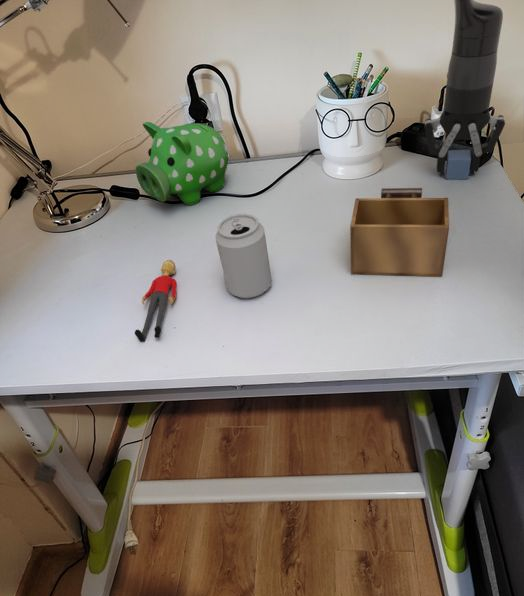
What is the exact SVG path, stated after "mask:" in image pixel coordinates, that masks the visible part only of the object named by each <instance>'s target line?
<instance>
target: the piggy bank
mask: <svg viewBox="0 0 524 596" xmlns="http://www.w3.org/2000/svg"><path fill="white" fill-rule="evenodd" d="M142 126H143V128H144V129H145V131H146V132H147V133H148V135H150V137H151V139H152V143H151V147H150V148H149V149H148V150H147V154H148V156H149V159H148V161H146V162H142V163H139V164H137V165H135V166H136V167H135V175H136V178H137V182H138V184H139V186H140V187H141V189H142V190H143V191H144V192H145V194H147V195H148V196H149V197H152V198H154V199H156V200H157V201H159V202H161V203H165V202H166V201H167V200H168V199H169V198H170V197H172V198H176V197H179V199H180V201H181V202H182V203H184V204H185V205H186V206H193V205H196V204H198V203H199V202H200V199H201V190H202V189H204V190H206V191H207V192H209V193H216V192H219V191H221V190H222V189H223V188H224V185H225V184H226V171H227V169H228V164H229V153H228V152H229V151H228V148H227V144H226V142H225V140H224V138H223V136H222V135H221V133H219V132H218V130H216V129H214V128H213V127H211V126H209V125H206V124H203V123H184V124H181V125H176V126H166V127H159V126H158V125H157V124H155V123H153V122H151V121H145V122H142Z"/></svg>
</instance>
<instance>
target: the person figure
mask: <svg viewBox="0 0 524 596" xmlns="http://www.w3.org/2000/svg"><path fill="white" fill-rule="evenodd" d="M160 272H161V273H162V275H159V276H157V277H156V278H155V279H153V280H152V282H151V285H150V287H149V289H148V291H147V292H145V294H144V295H143V296H142V299H141V303H142V305H145V304H146V303H145V301H147V300H148V298H150V301H149V304H148V307H147V313H146V318H145V321H144V325H143V328H142V330H140V329H136V330H135V331H134V335H135V336H136V338H137V340H138V341H139V342H141V343H144V342H145V340H146V338H147V335H148V332H149V330H150V327H151V324H152V321H153V317H154V313H155V310H156V308H157V306H158V308H157V317H156V321H155V327H154V329H153V330H154V339H159V338H160V336H161V333H162V325H163V321H164V314H165V311H166V307H167V303H168V305H170V306H171V305H173V303H174V302H175V299H176V297H177V283H178V282H177V279H175V278H173V277H172V276H173V275H175V274H176V263H175V262H174V261H173V260H172V259H166V260H165V261H164V262H163V263H162V266H161V269H160ZM170 288H171V296H170V297H169V290H170ZM168 300H169V301H168Z"/></svg>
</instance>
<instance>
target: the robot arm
mask: <svg viewBox="0 0 524 596" xmlns="http://www.w3.org/2000/svg"><path fill="white" fill-rule="evenodd" d="M453 2H454V30H453V38H452V39H453V41H452V48H451V55H450V59H449V63H448V67H447V73H446V85H445V94H444V95H445V96H444V102H443V103H444V104H443V111H442V112H441V114H440V116H439V117H437V118H433V119H432V118H426V119H425V120H424V131H425V138H426V143H427V149H428V154H429V155H435V156H437V159H436V172H437V173H439V176H444V175H445V170H446V162H447V154H448V150H449V149H450V148H451V146H452V144H453V142H454V141H460V140H461V141H462V140H465V141H471V145H472V148H473V151H472V152H471V163H470V169H469V175H470V176H471V175H475V172H476V173H477V172H478V171H479V169H480V163H481V157H482V156H483V155H484V154H491V153H492V152H493V151H494V149H495V147H496V144H497V143H498V140H499V138H500V136H501V134H502V132H503V129H504V128H505V125H506V121H505V117H504V116H503V115H502V114H500V115H498V116H494V115H491V114H490V111H489V109H490V104H491V98H492V93H493V88H494V81H495V76H496V71H497V63H498V49H499V42H500V39H501V38H500V37H501V30H502V26H503V20H504V12H503V10H502V8H501V7H499V6H497V5H494V4H489V3H481V2H478V1H475V0H453ZM488 124H489V128H490V132H489V133H488V136H487V139H486V141H485V142H484V143H481V139H480V132H482V131H483V129H484V128H485V127H486V126H487V125H488ZM439 126H441V128H442V129H443V131H444V132H445V133H444V135H443V137H442V139H441V140H442V141H441V142H440V144H436V139H435V134H434V133H436V132H437V131H438V127H439Z"/></svg>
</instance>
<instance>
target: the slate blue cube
mask: <svg viewBox="0 0 524 596" xmlns="http://www.w3.org/2000/svg"><path fill="white" fill-rule="evenodd" d="M471 157H472V153H471V149H450V150H449V149H448V151H447V153H446V161H445V180H448V181H449V180H450V181H451V180H468V179H469V175H470V163H471Z"/></svg>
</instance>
